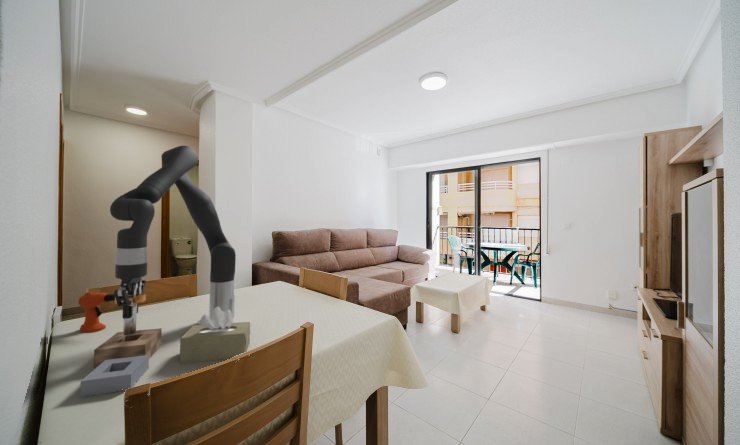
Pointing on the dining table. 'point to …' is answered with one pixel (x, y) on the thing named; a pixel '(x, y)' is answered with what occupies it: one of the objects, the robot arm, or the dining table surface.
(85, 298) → the toy drill
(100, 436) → the dining table surface
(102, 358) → the block
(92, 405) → the dining table surface
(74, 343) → the dining table surface
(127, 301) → the robot arm
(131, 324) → the bar
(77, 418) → the dining table surface
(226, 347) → the tissue box
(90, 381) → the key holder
